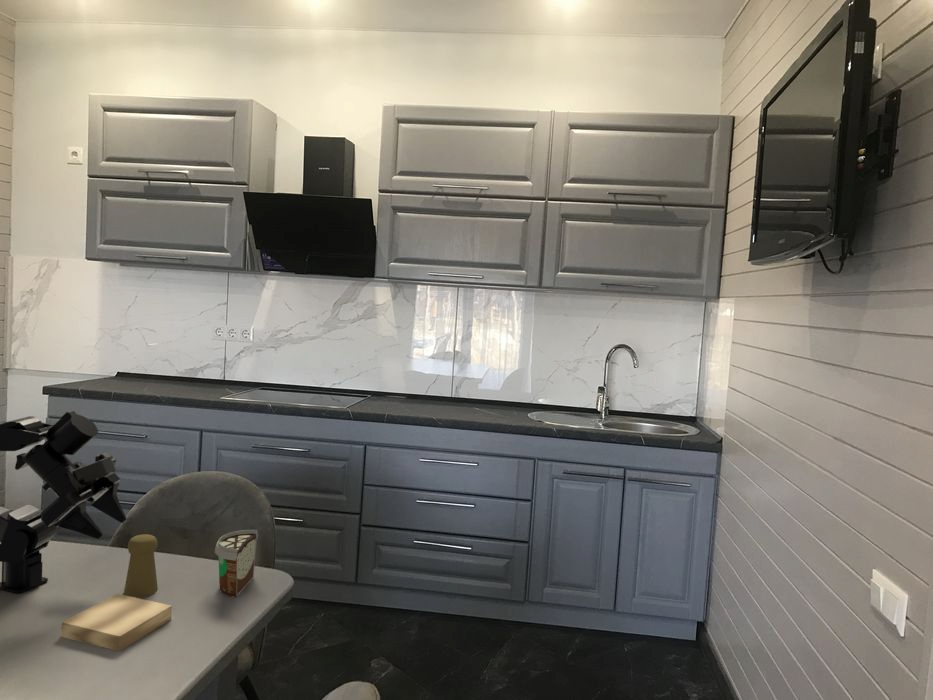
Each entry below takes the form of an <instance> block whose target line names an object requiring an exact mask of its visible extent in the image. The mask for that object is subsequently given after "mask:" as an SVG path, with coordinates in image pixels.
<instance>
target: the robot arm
mask: <svg viewBox="0 0 933 700" xmlns="http://www.w3.org/2000/svg"><path fill="white" fill-rule="evenodd" d="M98 434H99V429H98V427H97V425H96V424H95V423H94V422H93V420H92V419H88V418H87V417H86V416H83V415H81V414H78V413H76V412H75V410H71V411H66V412H65V413H64V414H63V415H61V418H60V419H59V420H58V421H57V422H55V423H54V424H51V423H47V422H42V421H41V420H40V419H39V418H38V417H36V416H26V417H22V418H18V419H14V420H9V421H6V422H3V423H0V452H17V451H20V450H23V449H25V448H28V447H32V446H33V447H32V448H30V449H29V450H28V451H27V452H23V453H20V454H17V455H16V462H15V465H14V469H15V470H16V471H18V470H21V469H24V468H26V467H30V469H31V470H32V471H33V472H34V474H36V475H37V476H38V477H39V478H40V479H41V480H42V482H44V485H42V489H44V490H45V492H47V491H49V490H52V492H53V493H54V494H55V495H56V496H57V498H56V499H54V501H53V502H51V503H50V504H49V505H48V506H47V507H46V508H44V509H43V510H42V509H39V508H37V507H35V506H33V505H31V504H25V505H23V506H21V507H19V508H17V509H14V510H12V509H9V508H6V507H3V506H0V563H1V581H0V590H3V591H6V592H9V593H10V592H11V593H15V594H20V593H23V592H26V591H27V590H28V591H29V590H31V589H33V588H36V587H37V586H39V585H43V584H44V583H47V582H48V581H49V578H48V577H44V576H43V560H42V553H41V552H40V551H41V550H43V549H44V548H47V547H48V545H49V543H50V541H51V540H52V539H54V537H55V536H56V534H57V531H58V528H62V529H65V530H69V531H73V532H77V533H79V534H82V535H85V536H88V537H91V538H94V539H97V540H99V539H101V538H102V537H103V536H104V533H103V532H102V530H101V529H100V527H99V526H98V525H97V524H96V522H95V521H94V520H93V519H92V517H91V516H90V515H89V514H88V513H87V502H86V501H88V502H90V503H91V506H92V507H94V509H96V510H98V511H100V512H102V513H104V514H105V515H107V516H108V517H111V518H112V519H114V520H115V521H117V522H118V523H121V524H123V523H125V522H126V521H127V517H126V515H125V512H124V509H123V507H122V505H121V502H120V501H119V497H118V495H117V492H118V488H119V486H120V481H121V478H120V477H119V476H118V475H117V474H116V471H117V469H116V466H115V465H116V463H117V459H116V458H114V457H113V455H110V454H109V453H108V452H107V451H106V452H104V453H101V454H98V455H96V456H95V458H94V462H90V463H88V464H86V465H84V464H83V462H82V461H81V462H80V461H77V462H75V463H74V462H73V461H72V460H71V459H70V458H69V457H68V456H67V455H69V456H74V455H76V454H78V452H79V451H80V450H81V449H83V448H84V447H85V446H87V444H88V443H90V442H91V441H92V440H93V439H94V438H96V437H97V435H98ZM44 440H46V441H45V442H44V443H43V444H40V443H42V441H44Z"/></svg>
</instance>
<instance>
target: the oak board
mask: <svg viewBox="0 0 933 700" xmlns="http://www.w3.org/2000/svg"><path fill="white" fill-rule="evenodd" d="M172 607H173V605H171V604H167V603H161V602H156V601H152V600H148V599H142V598H135V597H130V596H126V595H124V594H120V593H116V594H115V595H112V596H110V597H109V598H106V599H104V600H103V601H100V602H98V603H97V604H95V605H93V606H91V607H89V608H87V609H85V610H82V611H81V612H79V613H77V614H75V615H73V616H71V617H69V618H67V619H65V620H64V621H62V622H61V633H60V634H61V635H60V637H61V638H65V639H69V640H73V641H78V642H82V643H85V644H89V645H93V644H94V645H93V646H98V647H101V648H106V649H109V650H113V651H117V652H121V651H122V650H123V649H125V648H127V647H129V646H131V645H132V644H134V643H135V642H137V641H138V640H140V639H142V637H145V636H146V635H148V634H149V633H151V632H153V631H155V630H156V629H158V628H159V627H161V626H162V625H164V624H165V623H167V622H169V621H170V620H172V609H173V608H172ZM144 635H145V636H144ZM139 638H140V639H139ZM136 640H137V641H136ZM131 643H132V644H131ZM128 645H129V646H128ZM126 646H127V647H126Z"/></svg>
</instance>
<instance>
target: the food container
mask: <svg viewBox="0 0 933 700" xmlns="http://www.w3.org/2000/svg"><path fill="white" fill-rule="evenodd" d="M258 534H259V533H258V530H257V529H244V530H243V529H242V530H236V531H231V532H228V533H226V534H224V535H221V537H219V539H218V540H217V542H216V545H215V548H214V554H215V555H216V556H217V558H218V575H219V577H218V580H219V581H218V582H219V592H220V593H222V594H223V595H225V594H226V595H225V596H227V597H232V596H234V598H237V597H238V596H239V595H240V594H241V593H240V592H241V591H242V592H243V591H244V589H245V588H246V587H247V586H248V585H249V584H250V582H251V581H252V580H253V579H254V578H255V577H254V575H255V566H256V565H255V563H256V551H257V540H258V539H259V537H258V536H259V535H258ZM253 577H254V578H253ZM252 578H253V579H252ZM251 579H252V580H251ZM250 580H251V581H250ZM248 583H249V584H248ZM247 584H248V585H247ZM246 585H247V586H246ZM245 586H246V587H245ZM239 593H240V594H239ZM238 594H239V595H238Z"/></svg>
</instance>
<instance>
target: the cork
mask: <svg viewBox="0 0 933 700" xmlns="http://www.w3.org/2000/svg"><path fill="white" fill-rule="evenodd" d="M157 548H158V540H157V538H156V536H154V535H152V534H146V533H145V534H138V535H134V536H133V537H131V538H130V539H129V541H128V544H127V549H128V554H130V555H129V556H130V557H129V561H128V566H127V567H128V568H127V573H126V578H125V584H124V589H123V595H126V596H130V597H135V598H138V597H139V599H142V598H146V597H149V596H152V595H155V592H158V590H159V588H158V587H159V585H158V577H157V570H156V561H155V560H156V558H155V552H156V550H157Z"/></svg>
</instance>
